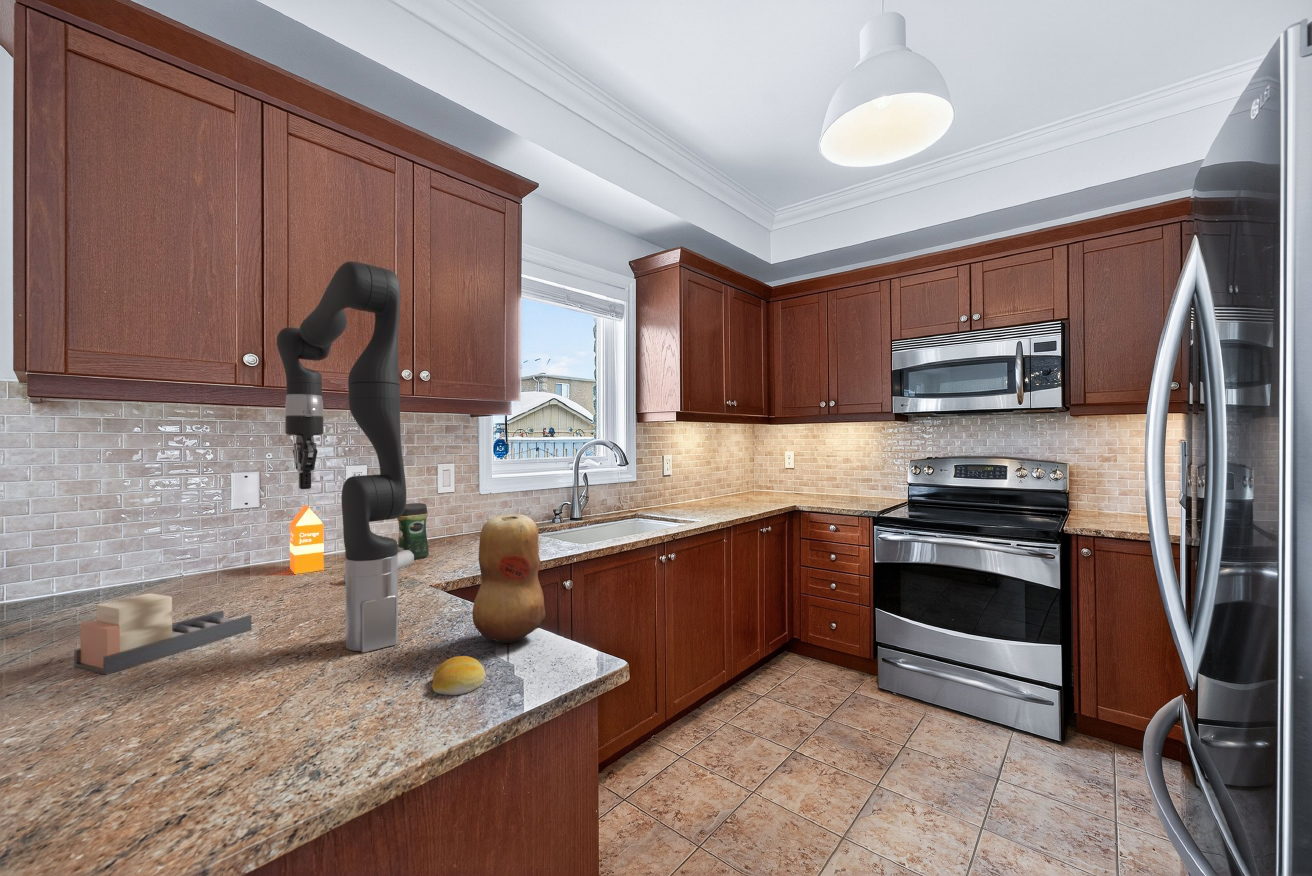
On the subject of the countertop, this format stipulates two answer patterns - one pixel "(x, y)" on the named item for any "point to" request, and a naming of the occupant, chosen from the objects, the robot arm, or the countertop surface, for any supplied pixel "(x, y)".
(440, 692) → the bread roll
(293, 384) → the robot arm
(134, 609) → the tan wooden block
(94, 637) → the end stop
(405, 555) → the tube
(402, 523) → the coffee jar
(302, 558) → the orange juice
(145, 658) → the roller bed
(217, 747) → the countertop surface
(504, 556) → the butternut squash
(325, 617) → the countertop surface
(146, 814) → the countertop surface
